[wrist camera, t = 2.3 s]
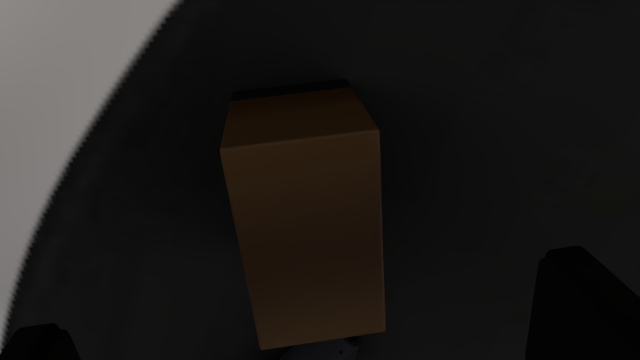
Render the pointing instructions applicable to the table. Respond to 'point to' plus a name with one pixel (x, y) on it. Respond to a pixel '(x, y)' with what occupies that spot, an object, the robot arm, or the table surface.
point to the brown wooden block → (307, 211)
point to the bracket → (325, 350)
